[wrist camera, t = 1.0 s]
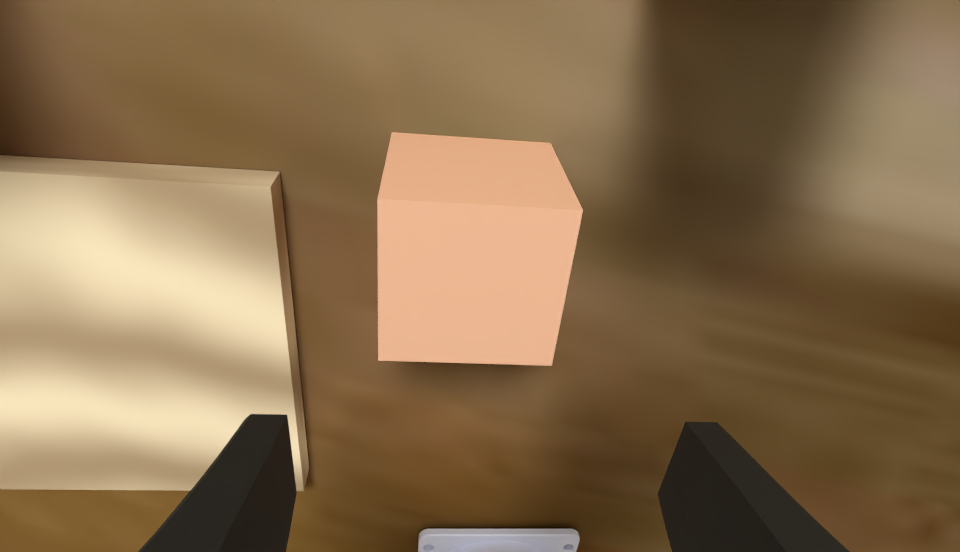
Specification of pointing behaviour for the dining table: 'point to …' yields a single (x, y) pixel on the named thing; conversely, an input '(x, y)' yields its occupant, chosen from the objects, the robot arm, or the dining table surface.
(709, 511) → the robot arm
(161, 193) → the birch board
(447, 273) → the peach cube
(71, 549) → the dining table surface
